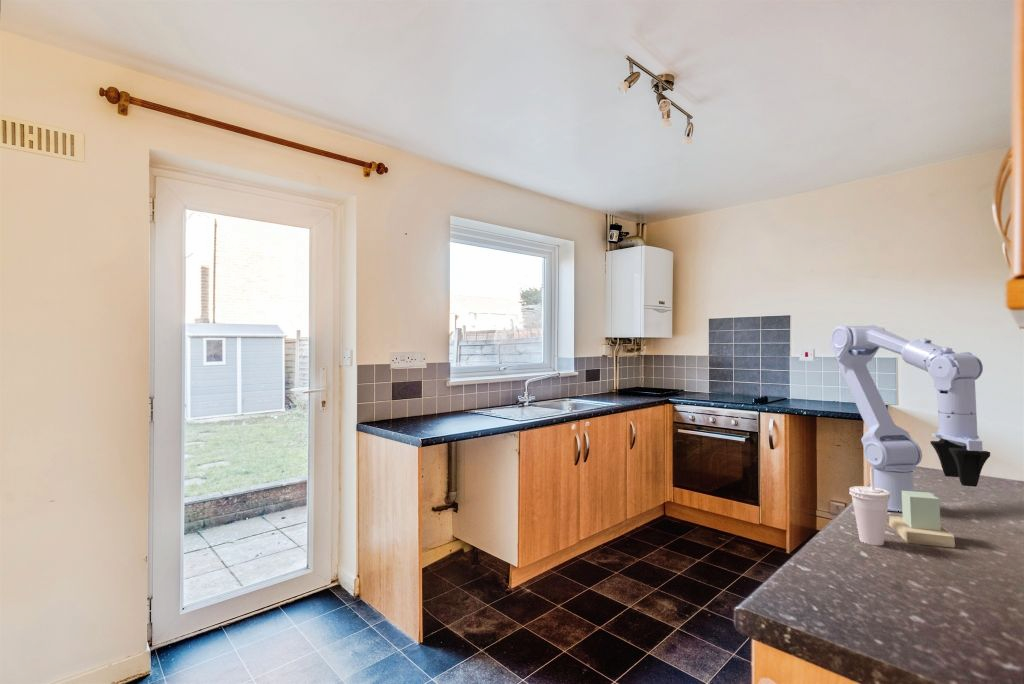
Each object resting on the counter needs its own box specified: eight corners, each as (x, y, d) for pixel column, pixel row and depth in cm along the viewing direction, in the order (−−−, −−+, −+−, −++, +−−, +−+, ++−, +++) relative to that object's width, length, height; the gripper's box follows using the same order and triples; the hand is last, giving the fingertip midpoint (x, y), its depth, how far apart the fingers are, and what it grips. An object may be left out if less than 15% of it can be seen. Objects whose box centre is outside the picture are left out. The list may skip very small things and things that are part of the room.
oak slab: (889, 525, 100) (889, 515, 100) (931, 529, 98) (931, 519, 98) (907, 542, 91) (907, 532, 91) (954, 547, 88) (954, 536, 88)
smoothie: (900, 549, 88) (897, 471, 89) (861, 547, 90) (857, 470, 90) (881, 536, 94) (878, 464, 95) (844, 534, 96) (841, 463, 96)
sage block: (902, 520, 97) (901, 490, 98) (930, 523, 96) (929, 492, 96) (911, 528, 93) (909, 496, 93) (940, 530, 91) (939, 498, 92)
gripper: (918, 408, 106) (921, 471, 105) (947, 416, 92) (950, 488, 92) (960, 409, 103) (963, 473, 102) (995, 417, 89) (999, 491, 89)
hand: (960, 481), depth 97 cm, fingers open, 7 cm apart
